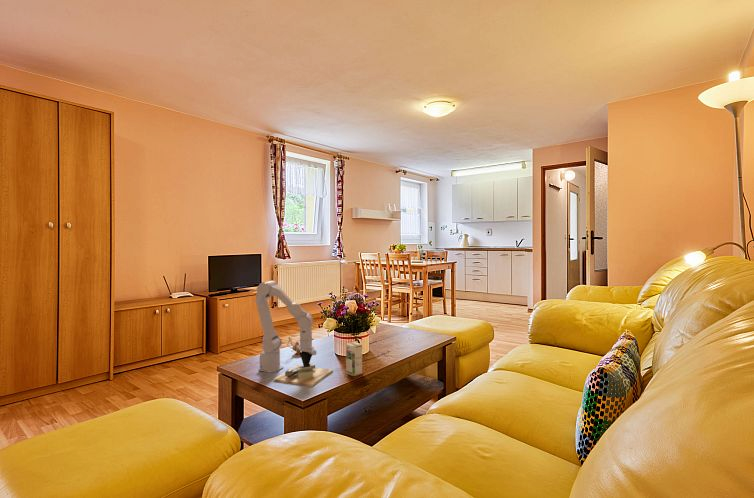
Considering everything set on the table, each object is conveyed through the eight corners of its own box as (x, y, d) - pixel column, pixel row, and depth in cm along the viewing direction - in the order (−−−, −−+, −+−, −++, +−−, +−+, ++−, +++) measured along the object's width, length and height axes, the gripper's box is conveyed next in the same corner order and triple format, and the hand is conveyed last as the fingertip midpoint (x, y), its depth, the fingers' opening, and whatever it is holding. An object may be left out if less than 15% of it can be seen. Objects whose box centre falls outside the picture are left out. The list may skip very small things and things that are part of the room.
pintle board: (273, 381, 170) (273, 376, 170) (297, 367, 189) (297, 363, 189) (311, 386, 163) (311, 382, 163) (332, 371, 182) (332, 367, 182)
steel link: (288, 377, 169) (288, 372, 169) (283, 375, 172) (283, 370, 172) (315, 368, 181) (315, 363, 181) (310, 366, 184) (310, 361, 184)
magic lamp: (317, 351, 217) (317, 332, 217) (291, 358, 204) (290, 338, 203) (310, 349, 221) (310, 330, 221) (284, 355, 208) (283, 336, 208)
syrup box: (345, 373, 179) (345, 343, 179) (354, 370, 183) (354, 341, 183) (353, 376, 175) (353, 346, 175) (362, 373, 179) (362, 343, 179)
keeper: (298, 379, 169) (298, 370, 169) (297, 376, 173) (297, 368, 173) (312, 377, 172) (312, 369, 172) (311, 374, 175) (311, 366, 175)
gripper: (321, 340, 180) (321, 368, 181) (304, 335, 191) (304, 361, 191) (309, 343, 176) (309, 371, 176) (292, 337, 186) (292, 364, 186)
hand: (306, 366), depth 183 cm, fingers closed
